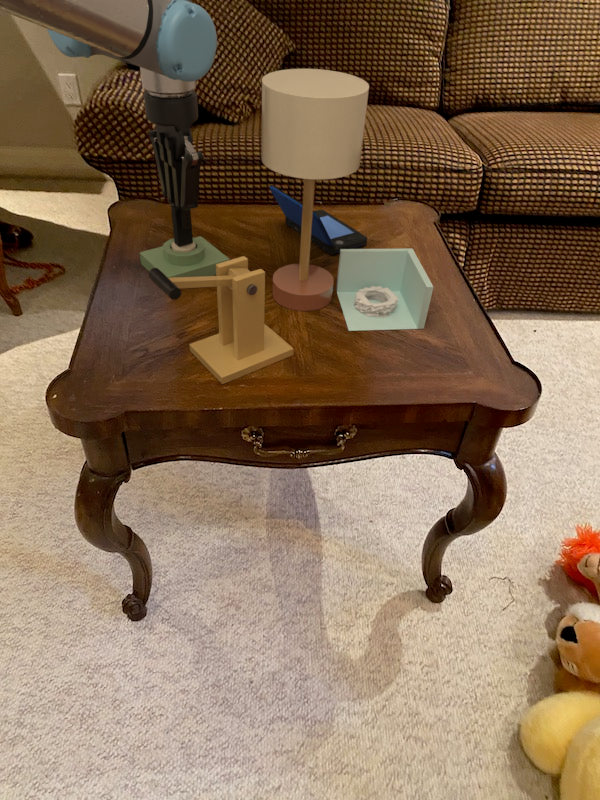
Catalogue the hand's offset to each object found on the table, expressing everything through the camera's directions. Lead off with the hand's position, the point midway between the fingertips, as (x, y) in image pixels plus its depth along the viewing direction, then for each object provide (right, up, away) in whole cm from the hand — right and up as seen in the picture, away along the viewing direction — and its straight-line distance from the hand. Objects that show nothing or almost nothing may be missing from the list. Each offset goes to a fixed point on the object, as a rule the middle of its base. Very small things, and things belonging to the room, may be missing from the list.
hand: (183, 242), depth 99 cm
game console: (+23, +5, +14) cm, 27 cm away
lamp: (+20, -9, -2) cm, 22 cm away
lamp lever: (+8, -13, -25) cm, 29 cm away
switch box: (0, -3, +3) cm, 5 cm away
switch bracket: (+11, -20, -14) cm, 27 cm away
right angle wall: (+32, -12, -4) cm, 35 cm away
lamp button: (0, -2, +1) cm, 2 cm away
